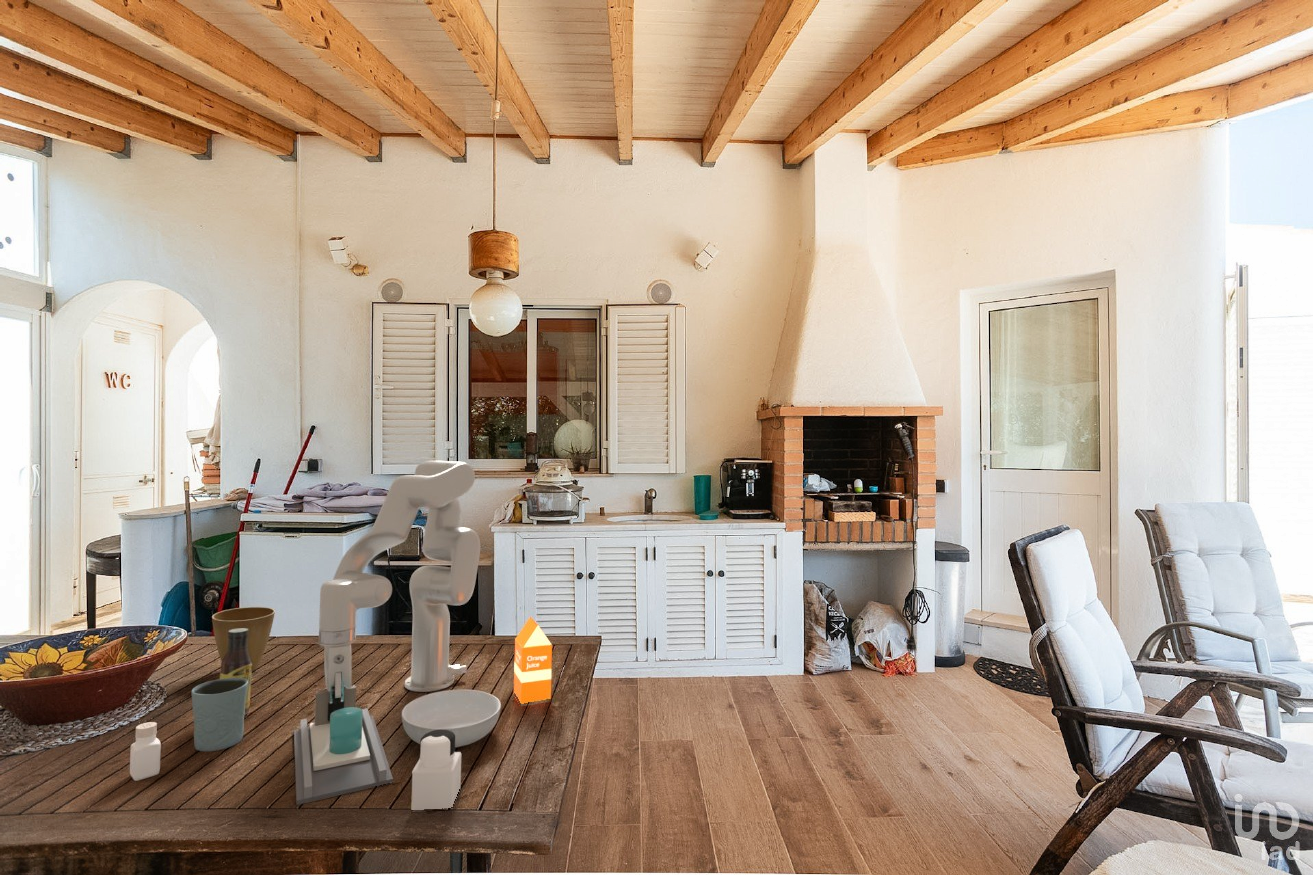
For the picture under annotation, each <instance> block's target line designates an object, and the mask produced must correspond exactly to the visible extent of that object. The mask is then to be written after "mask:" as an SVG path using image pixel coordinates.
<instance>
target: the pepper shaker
mask: <svg viewBox="0 0 1313 875" xmlns="http://www.w3.org/2000/svg"><path fill="white" fill-rule="evenodd" d="M157 726H158V723H157V722H156V721H149V722H144V723H141V724H138V725H137V726H135V742H133V743H132V744H131V745H130V752H129V753H130V755H129V774H130V776H131V778H132V779H133V780H134V781H135V782H136V781H137V782H138V781H141V780H144V779H149V778H150V777H154V776H157V775H158V774H159V773H160V771H161V770H160V769H161V747H162V744H161V741H160V739H159V738H157V733H158V732H157Z"/></svg>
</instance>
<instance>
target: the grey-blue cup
mask: <svg viewBox="0 0 1313 875" xmlns="http://www.w3.org/2000/svg"><path fill="white" fill-rule="evenodd" d="M247 690H248V680H246V679H243V678H225V679H220V678H218V679H215V680H210V681H206V682H203V683H200V684H198V685H196V686H195V687H193V688H192V689H191V703H192V714H193V727H194V731H193V741H194V742H193V745H194V749H195V750H197V751H200V752H214V751H221V750H225V749H227V748H231V747H233V746H236V745H237V744H239V743H240V742H241V741H242V739H243V737H244V729H245V728H244V727H245V716H246V715H245V703H246V698H247Z"/></svg>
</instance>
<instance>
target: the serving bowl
mask: <svg viewBox="0 0 1313 875" xmlns="http://www.w3.org/2000/svg"><path fill="white" fill-rule="evenodd" d="M501 709H502V704H501V701H500V699H499V698H498V697H496V696H495V695H493V694H491V693H489V692H486V691H482V690H475V689H448V690H441V691H440V690H439V691H434V692H431V693H428V694H425V695H422V696H420V697H417V698H415V699H413V700H412V701H410V702H409V703H407V704H406V705H405V706H404V707H403V708H402V710H401V722H402V726H403V727H402V728H403V730H404V731H405V733H406V734H407V736H408V737H409V738H410V739H411V740H412V741H414V742H415V743H417V744H419V745H420V740H421V738H422V737H423V736H424V735H425V734H426V733H428V732H431V731H434V730H440V729H443V730H449V731H452V732H453V733H454V734H455V748H460V747H465V746H468V745H471V744H473V743H476V742H478V741H480V740H481V739H483V738H484V737H486V736H487V735H488V734H489V733H490V732H491V731H492V730H493V728H494V727H495V725H496V724H497V723H498V720H499V717H500V714H501Z"/></svg>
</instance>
